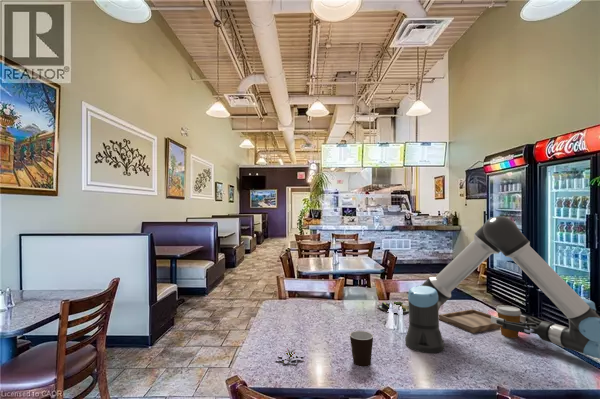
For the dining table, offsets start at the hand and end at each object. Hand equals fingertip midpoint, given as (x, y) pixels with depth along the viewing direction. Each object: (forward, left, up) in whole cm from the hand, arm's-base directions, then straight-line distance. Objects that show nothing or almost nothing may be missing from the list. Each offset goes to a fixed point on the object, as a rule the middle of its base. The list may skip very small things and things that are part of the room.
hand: (501, 316), depth 142 cm
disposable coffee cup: (0, -4, -7) cm, 8 cm away
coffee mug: (-74, 0, -7) cm, 74 cm away
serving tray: (-1, +14, -7) cm, 16 cm away
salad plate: (-23, +47, -8) cm, 53 cm away
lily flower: (-99, +12, -8) cm, 100 cm away
